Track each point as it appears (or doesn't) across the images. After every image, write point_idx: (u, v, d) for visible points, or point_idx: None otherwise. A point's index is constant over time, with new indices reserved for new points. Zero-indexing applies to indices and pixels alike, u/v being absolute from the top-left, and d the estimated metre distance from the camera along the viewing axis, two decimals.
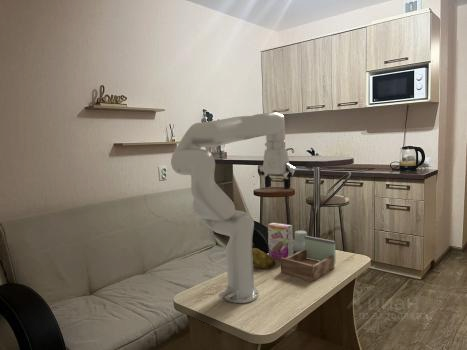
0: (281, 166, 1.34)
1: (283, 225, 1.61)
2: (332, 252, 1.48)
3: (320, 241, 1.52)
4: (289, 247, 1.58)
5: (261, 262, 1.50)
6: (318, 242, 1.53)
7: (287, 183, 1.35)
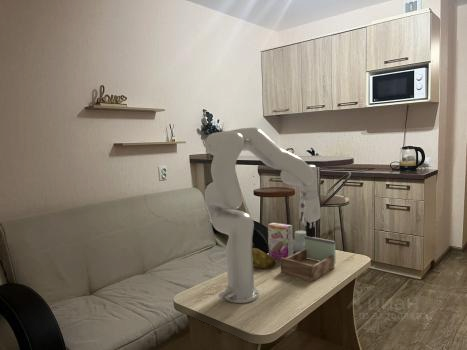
0: (320, 211, 1.47)
1: (283, 225, 1.61)
2: (332, 252, 1.48)
3: (320, 241, 1.52)
4: (289, 247, 1.58)
5: (261, 262, 1.50)
6: (318, 242, 1.53)
7: None
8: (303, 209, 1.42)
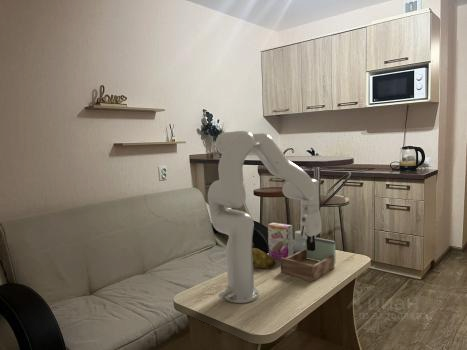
0: None
1: (283, 225, 1.61)
2: (332, 252, 1.48)
3: (320, 241, 1.52)
4: (289, 247, 1.58)
5: (261, 262, 1.50)
6: (318, 242, 1.53)
7: None
8: (304, 223, 1.43)
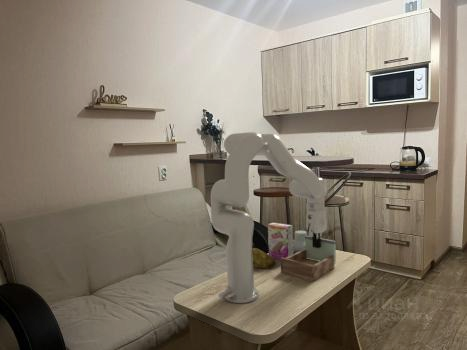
0: (326, 223, 1.52)
1: (283, 225, 1.61)
2: (333, 252, 1.48)
3: (321, 241, 1.52)
4: (289, 247, 1.58)
5: (261, 262, 1.50)
6: None
7: None
8: (310, 221, 1.46)
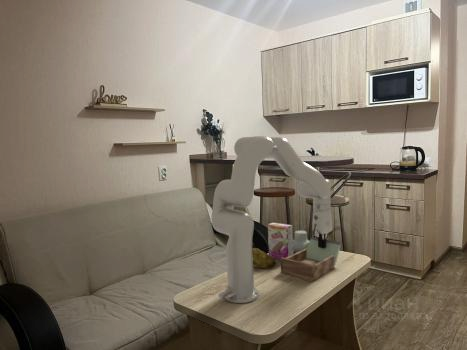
0: None
1: (283, 225, 1.61)
2: (336, 252, 1.50)
3: (326, 242, 1.56)
4: (289, 247, 1.58)
5: (261, 262, 1.50)
6: None
7: None
8: (316, 221, 1.50)
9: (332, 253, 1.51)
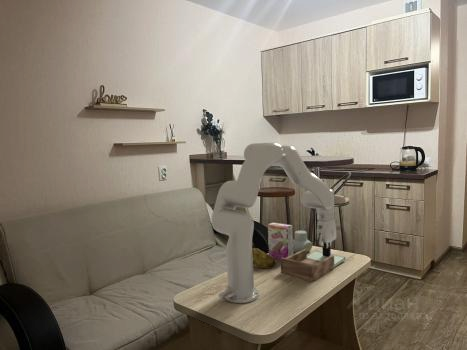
0: None
1: (283, 225, 1.61)
2: (339, 260, 1.52)
3: None
4: (289, 247, 1.58)
5: (261, 262, 1.50)
6: None
7: None
8: (321, 230, 1.53)
9: (334, 259, 1.53)
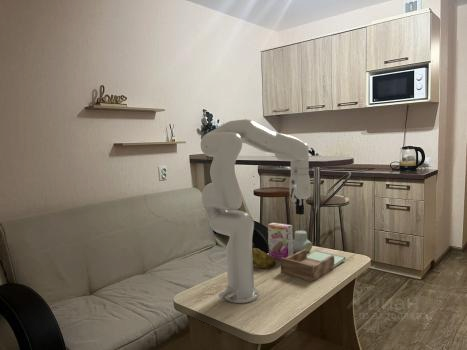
0: (310, 190, 1.50)
1: (283, 225, 1.61)
2: (339, 260, 1.52)
3: (330, 255, 1.59)
4: (289, 247, 1.58)
5: (261, 262, 1.50)
6: (328, 254, 1.59)
7: None
8: (293, 185, 1.45)
9: (334, 259, 1.53)
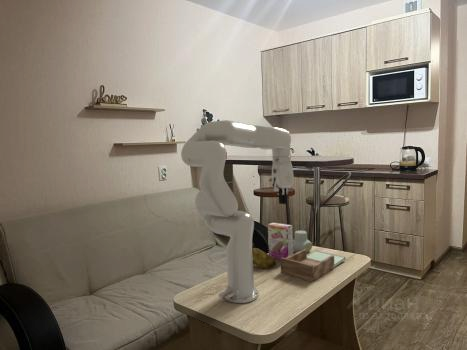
0: (293, 178, 1.46)
1: (283, 225, 1.61)
2: (339, 260, 1.52)
3: (330, 255, 1.59)
4: (289, 247, 1.58)
5: (261, 262, 1.50)
6: (328, 254, 1.59)
7: None
8: (275, 174, 1.41)
9: (334, 259, 1.53)
